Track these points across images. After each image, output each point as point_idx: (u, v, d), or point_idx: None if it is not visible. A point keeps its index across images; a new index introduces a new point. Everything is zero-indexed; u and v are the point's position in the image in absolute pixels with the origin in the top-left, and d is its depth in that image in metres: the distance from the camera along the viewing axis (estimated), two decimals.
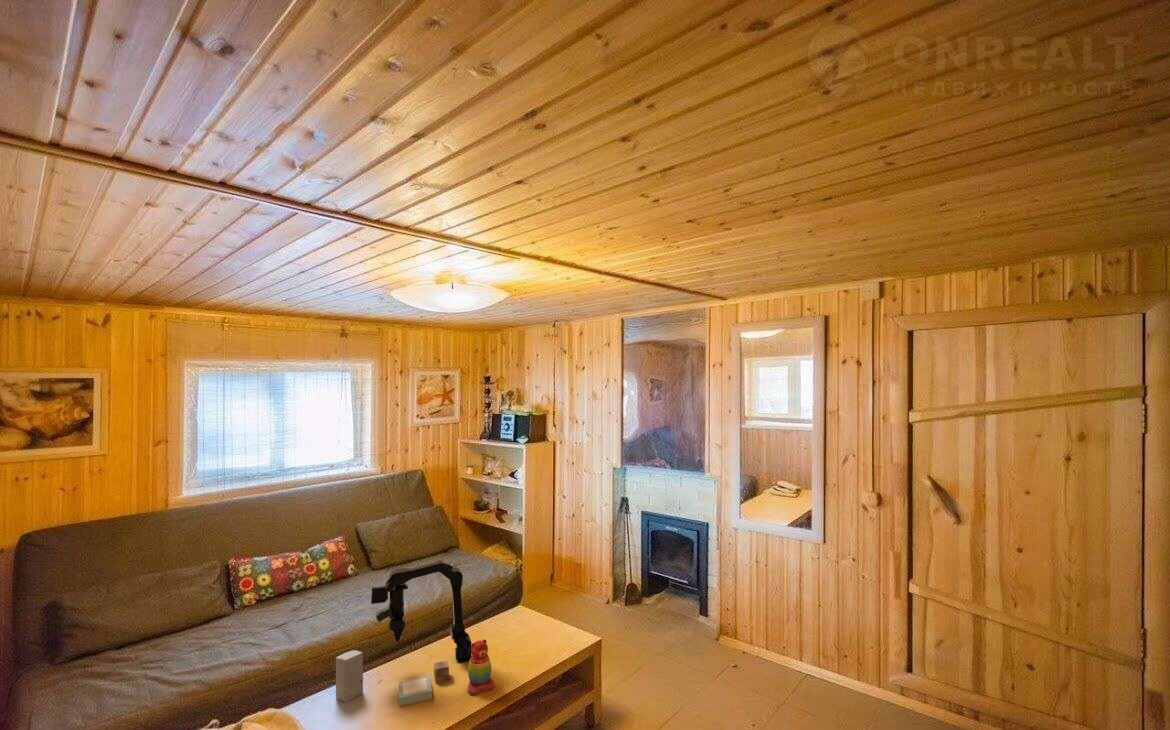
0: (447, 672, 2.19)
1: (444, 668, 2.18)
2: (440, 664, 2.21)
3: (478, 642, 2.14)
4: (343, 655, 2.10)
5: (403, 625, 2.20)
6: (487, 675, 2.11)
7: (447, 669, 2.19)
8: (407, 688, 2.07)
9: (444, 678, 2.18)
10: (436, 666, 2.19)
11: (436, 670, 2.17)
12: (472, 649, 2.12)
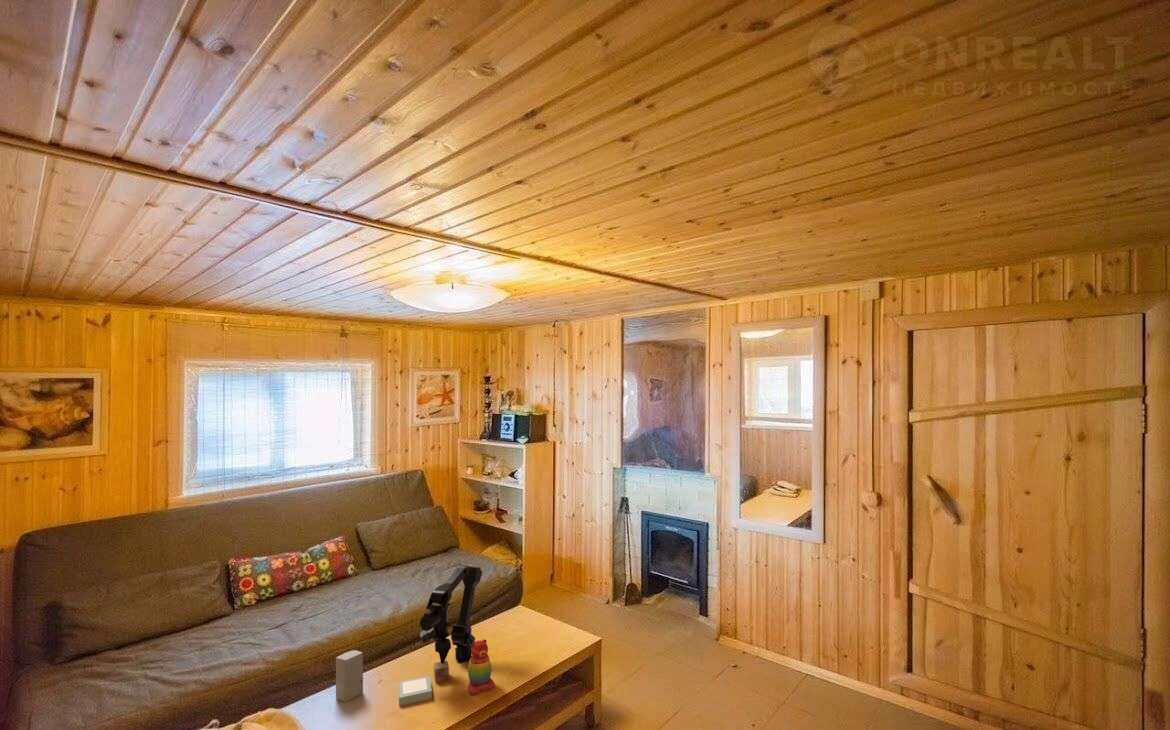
0: (447, 672, 2.19)
1: (444, 668, 2.18)
2: (440, 664, 2.21)
3: (478, 642, 2.14)
4: (343, 655, 2.10)
5: (449, 647, 2.13)
6: (487, 675, 2.11)
7: (447, 669, 2.19)
8: (407, 688, 2.07)
9: (444, 678, 2.18)
10: (436, 666, 2.19)
11: (436, 670, 2.17)
12: (472, 649, 2.12)
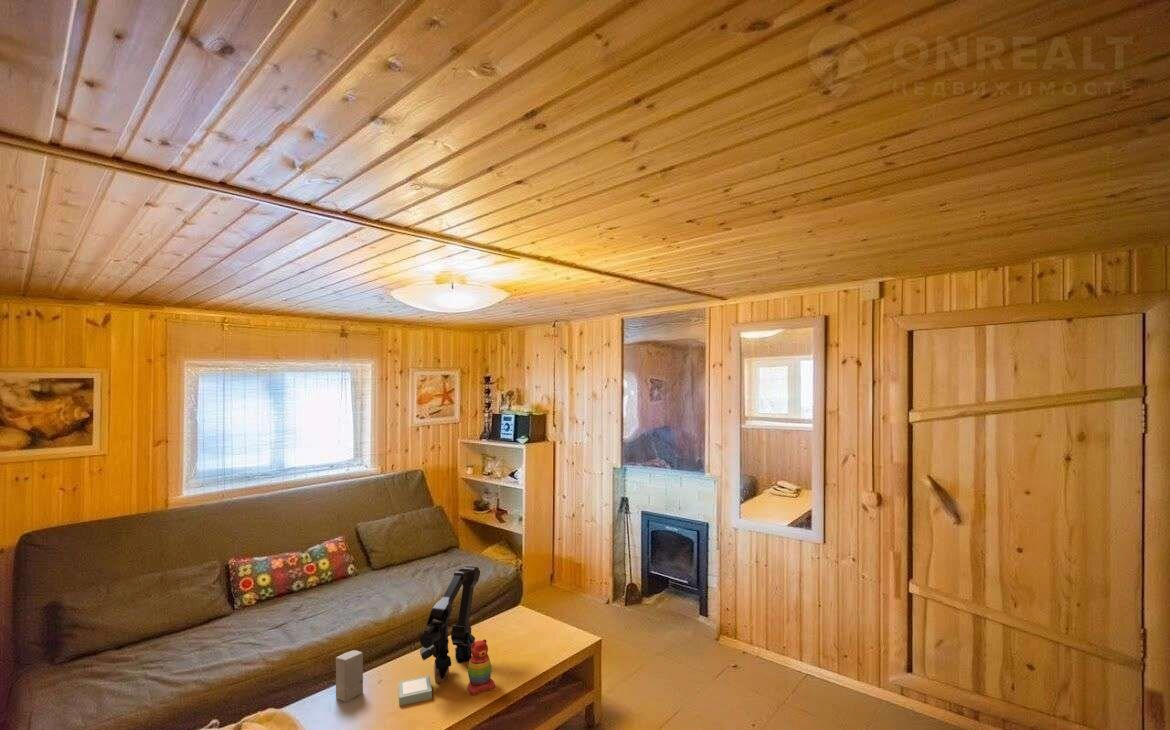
0: (447, 672, 2.19)
1: None
2: None
3: (478, 642, 2.14)
4: (343, 655, 2.10)
5: (449, 664, 2.13)
6: (487, 675, 2.11)
7: (447, 669, 2.19)
8: (407, 688, 2.07)
9: (444, 678, 2.18)
10: None
11: (436, 670, 2.17)
12: (472, 649, 2.12)
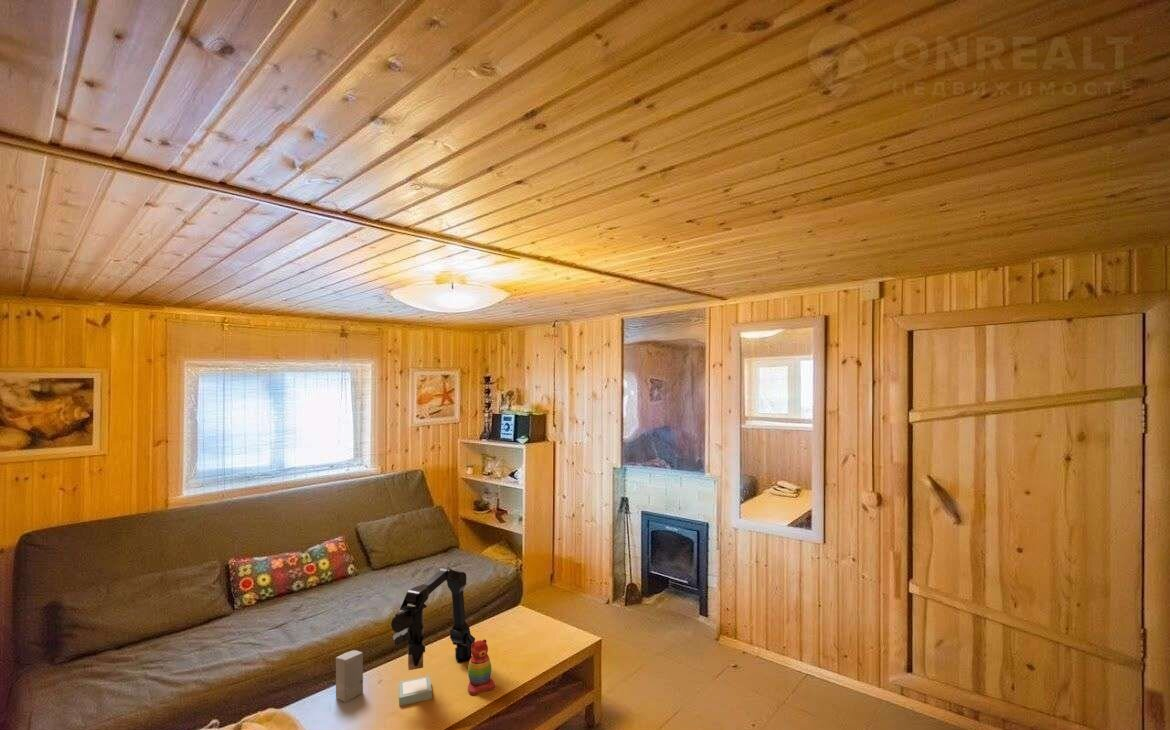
0: (421, 659, 2.08)
1: None
2: None
3: (478, 642, 2.14)
4: (343, 655, 2.10)
5: (423, 650, 2.03)
6: (487, 675, 2.11)
7: (421, 656, 2.08)
8: (407, 688, 2.07)
9: (418, 665, 2.07)
10: None
11: (410, 657, 2.07)
12: (472, 649, 2.12)
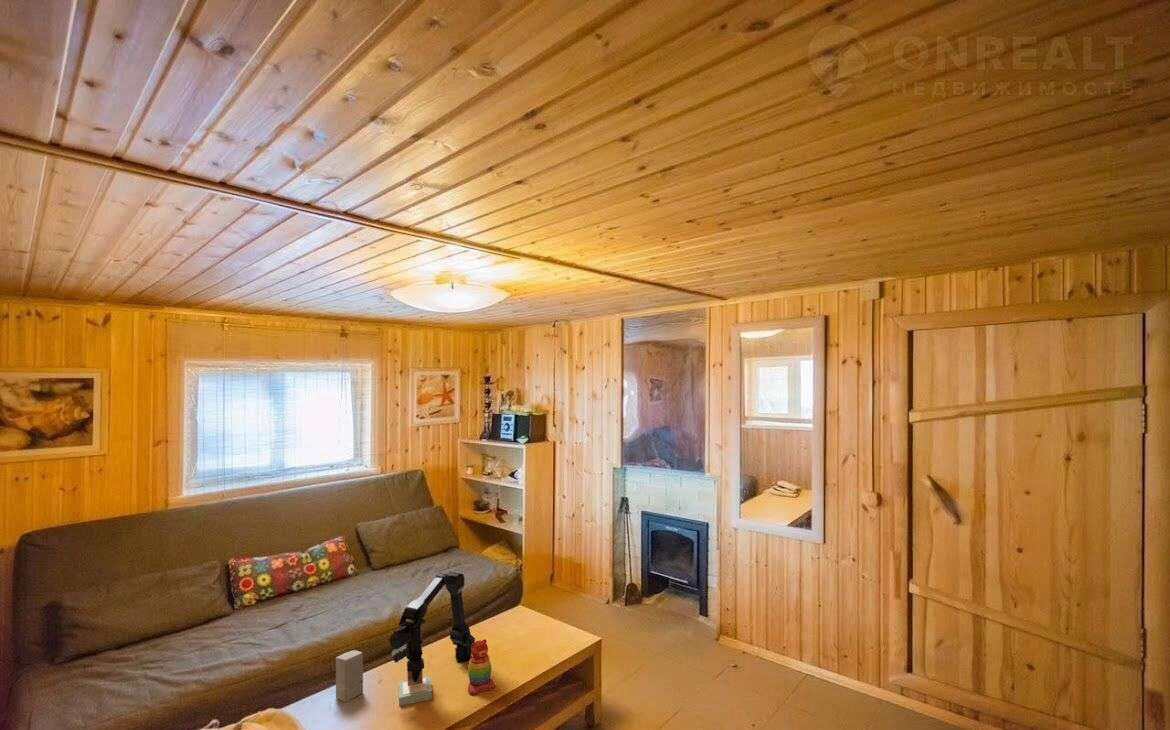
0: (420, 674, 2.08)
1: None
2: None
3: (478, 642, 2.14)
4: (343, 655, 2.10)
5: (422, 666, 2.02)
6: (487, 675, 2.11)
7: None
8: (407, 688, 2.07)
9: (417, 681, 2.07)
10: None
11: (409, 672, 2.06)
12: (472, 649, 2.12)
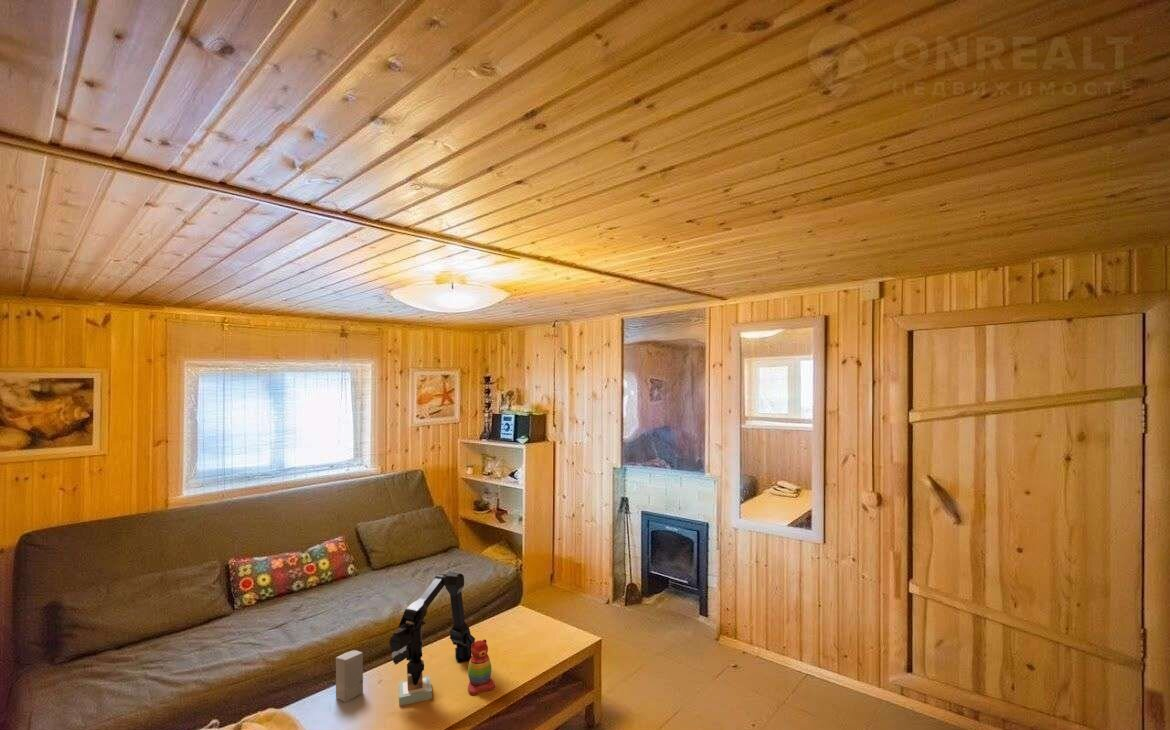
0: (420, 679, 2.07)
1: None
2: None
3: (478, 642, 2.14)
4: (343, 655, 2.10)
5: (422, 668, 2.02)
6: (487, 675, 2.11)
7: (420, 676, 2.07)
8: (407, 688, 2.07)
9: (417, 686, 2.07)
10: None
11: (409, 677, 2.06)
12: (472, 649, 2.12)
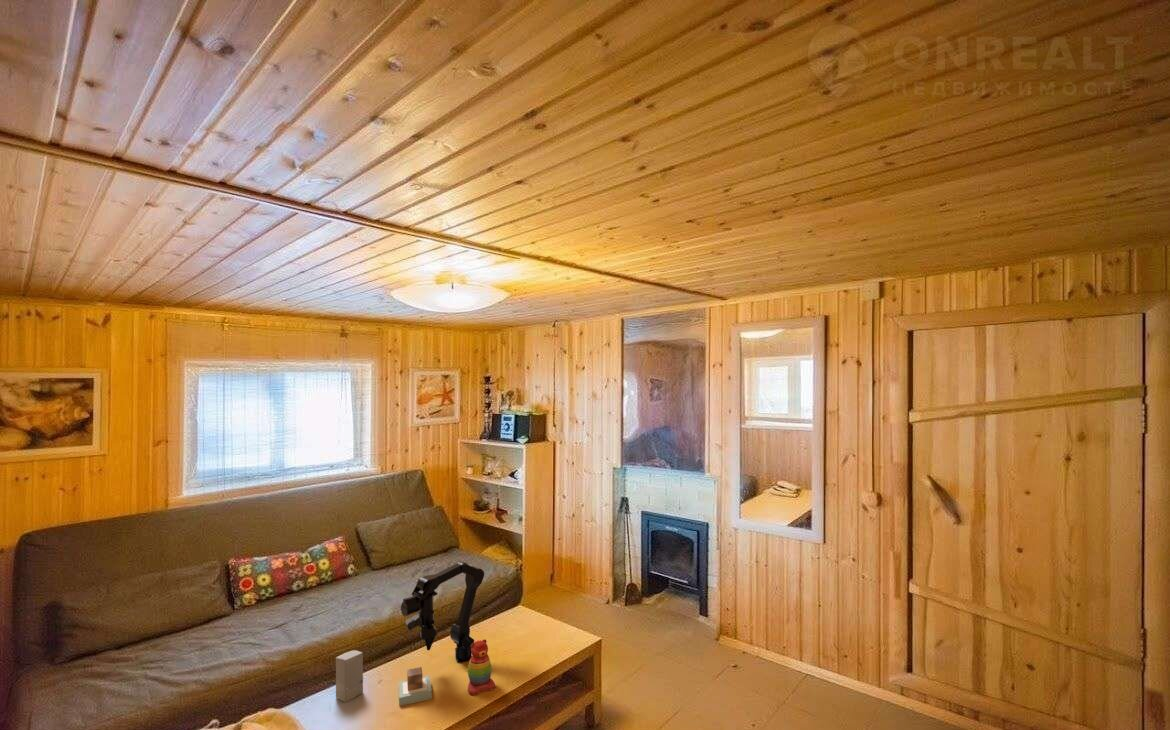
0: (420, 679, 2.07)
1: (417, 675, 2.07)
2: (413, 671, 2.10)
3: (478, 642, 2.14)
4: (343, 655, 2.10)
5: (435, 633, 2.16)
6: (487, 675, 2.11)
7: (420, 676, 2.07)
8: (407, 688, 2.07)
9: (417, 686, 2.07)
10: (409, 673, 2.08)
11: (409, 677, 2.06)
12: (472, 649, 2.12)
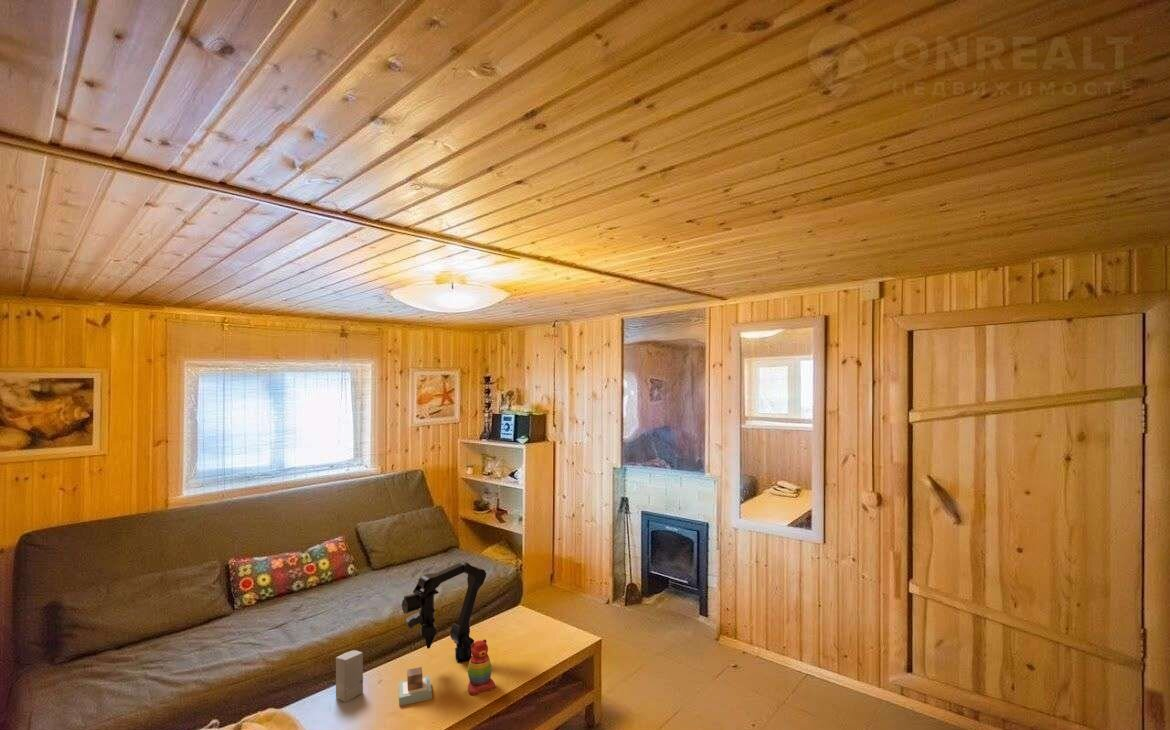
0: (420, 679, 2.07)
1: (417, 675, 2.07)
2: (413, 671, 2.10)
3: (478, 642, 2.14)
4: (343, 655, 2.10)
5: (435, 632, 2.17)
6: (487, 675, 2.11)
7: (420, 676, 2.07)
8: (407, 688, 2.07)
9: (417, 686, 2.07)
10: (409, 673, 2.08)
11: (409, 677, 2.06)
12: (472, 649, 2.12)
